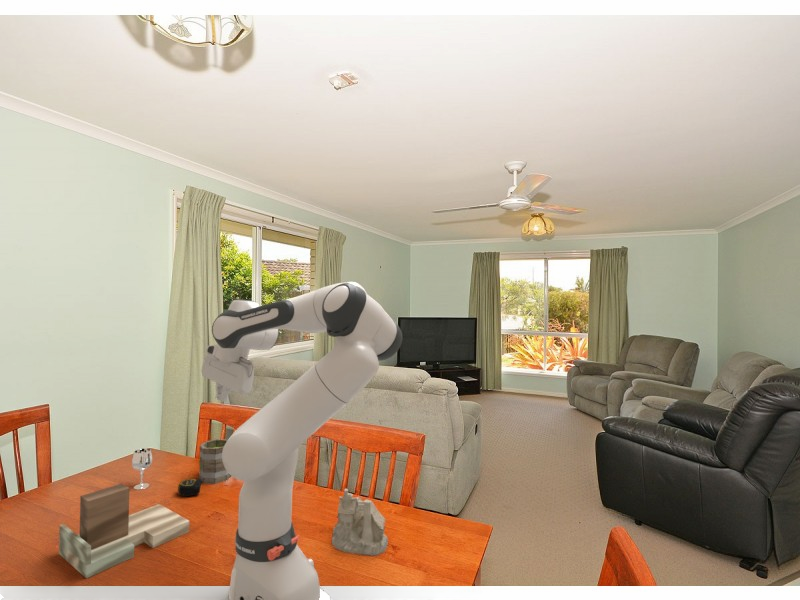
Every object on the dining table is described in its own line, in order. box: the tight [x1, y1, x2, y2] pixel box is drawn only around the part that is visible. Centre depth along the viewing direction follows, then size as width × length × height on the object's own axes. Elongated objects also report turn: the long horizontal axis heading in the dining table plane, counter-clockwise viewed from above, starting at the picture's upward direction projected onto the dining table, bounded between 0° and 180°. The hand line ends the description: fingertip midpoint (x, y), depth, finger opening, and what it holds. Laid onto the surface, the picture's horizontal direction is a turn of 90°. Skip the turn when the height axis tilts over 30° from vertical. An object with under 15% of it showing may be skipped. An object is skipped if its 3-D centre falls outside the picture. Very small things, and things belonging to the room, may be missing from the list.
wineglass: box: [131, 447, 153, 490], centre depth 143 cm, size 6×6×12 cm
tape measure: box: [177, 478, 203, 497], centre depth 139 cm, size 7×7×4 cm
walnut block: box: [79, 483, 130, 550], centre depth 106 cm, size 4×9×12 cm, turn 146°
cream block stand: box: [58, 503, 190, 580], centre depth 110 cm, size 16×24×7 cm, turn 146°
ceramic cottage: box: [331, 488, 389, 556], centre depth 116 cm, size 16×16×15 cm
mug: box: [198, 438, 232, 485], centre depth 153 cm, size 16×11×12 cm
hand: (220, 400), depth 124 cm, fingers closed
